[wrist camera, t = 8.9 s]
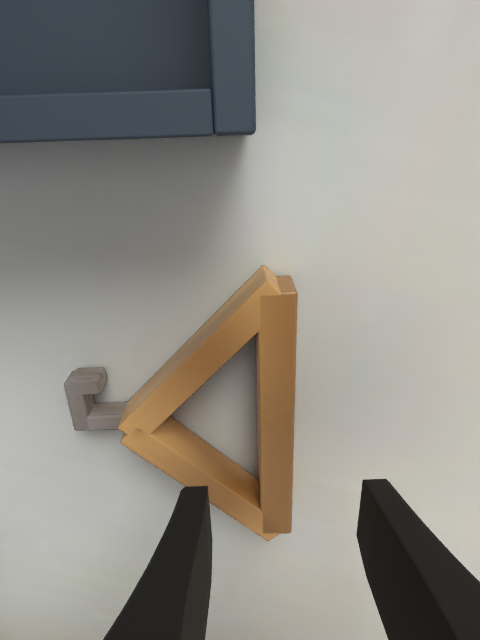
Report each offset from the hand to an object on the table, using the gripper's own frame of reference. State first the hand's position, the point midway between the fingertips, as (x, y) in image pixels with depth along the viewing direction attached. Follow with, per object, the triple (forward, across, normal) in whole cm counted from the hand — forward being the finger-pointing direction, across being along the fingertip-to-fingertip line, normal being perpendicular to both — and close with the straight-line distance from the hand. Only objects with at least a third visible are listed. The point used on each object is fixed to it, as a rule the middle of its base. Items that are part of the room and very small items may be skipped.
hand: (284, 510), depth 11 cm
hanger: (+5, +3, 0) cm, 6 cm away
